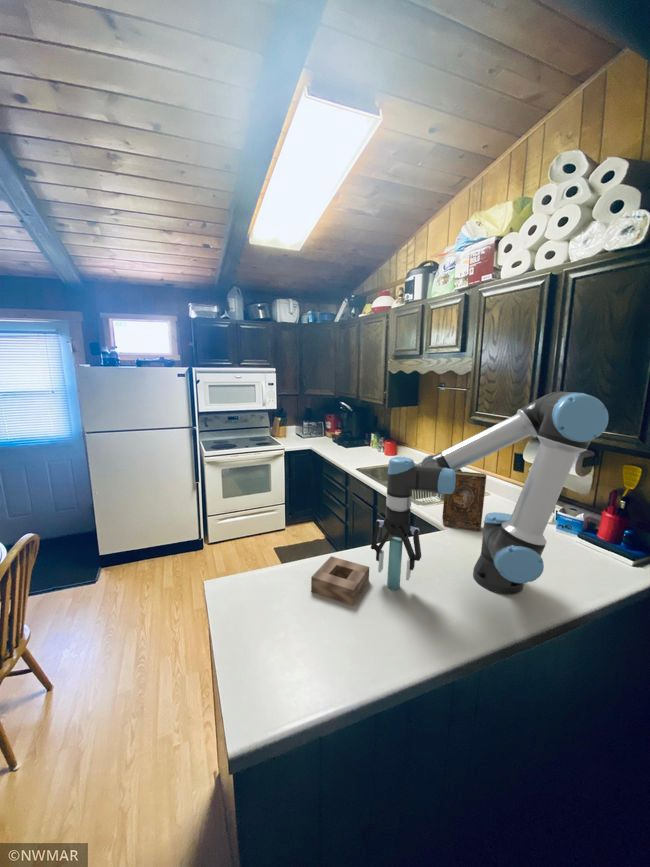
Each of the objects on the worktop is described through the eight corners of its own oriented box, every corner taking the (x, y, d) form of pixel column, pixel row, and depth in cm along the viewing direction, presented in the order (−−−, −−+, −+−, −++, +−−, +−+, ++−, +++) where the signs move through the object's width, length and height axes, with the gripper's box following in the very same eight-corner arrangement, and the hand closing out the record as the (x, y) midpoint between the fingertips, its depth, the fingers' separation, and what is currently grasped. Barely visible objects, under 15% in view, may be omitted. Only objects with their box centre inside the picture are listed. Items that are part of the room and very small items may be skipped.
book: (479, 526, 157) (485, 473, 153) (481, 531, 152) (487, 477, 148) (442, 521, 162) (446, 469, 158) (442, 526, 157) (446, 473, 152)
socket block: (368, 580, 114) (369, 567, 113) (352, 605, 101) (353, 590, 100) (330, 569, 120) (331, 556, 119) (311, 591, 107) (311, 576, 107)
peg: (401, 584, 112) (404, 539, 109) (397, 591, 108) (400, 544, 106) (389, 581, 114) (391, 536, 111) (385, 587, 110) (388, 541, 107)
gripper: (435, 509, 105) (430, 577, 109) (369, 497, 114) (366, 560, 118) (431, 518, 98) (425, 590, 102) (361, 504, 108) (359, 570, 112)
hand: (394, 574), depth 110 cm, fingers open, 8 cm apart
